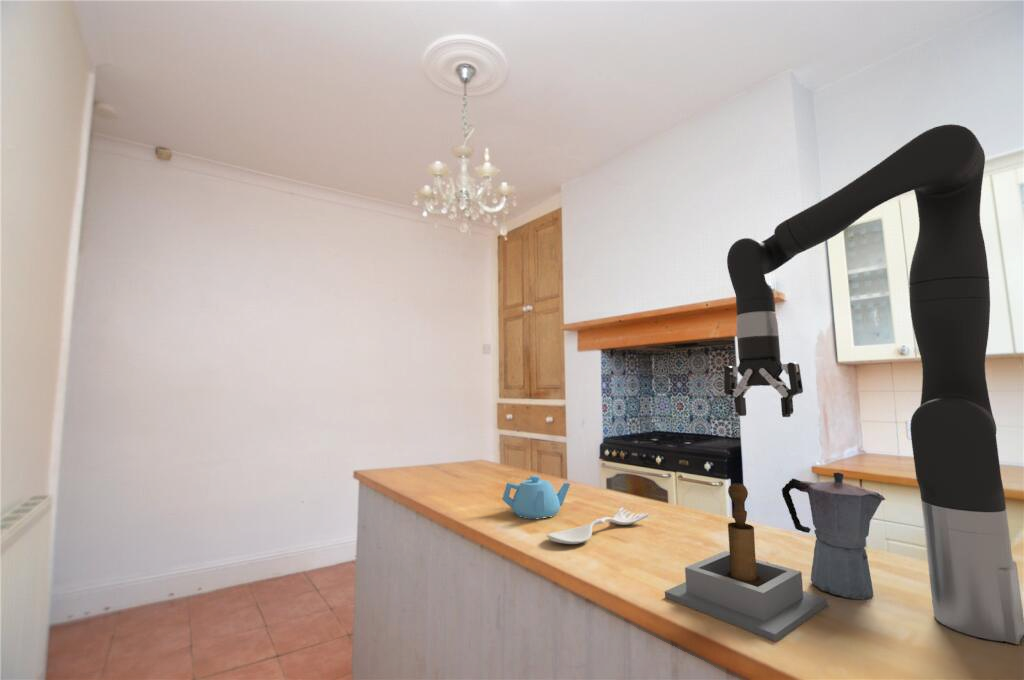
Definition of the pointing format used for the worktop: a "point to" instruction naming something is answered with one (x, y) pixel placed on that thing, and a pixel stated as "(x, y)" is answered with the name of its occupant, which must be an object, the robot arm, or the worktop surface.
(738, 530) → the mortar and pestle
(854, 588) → the moka pot
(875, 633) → the worktop surface
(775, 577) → the socket board
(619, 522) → the white spork utensil
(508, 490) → the teapot
